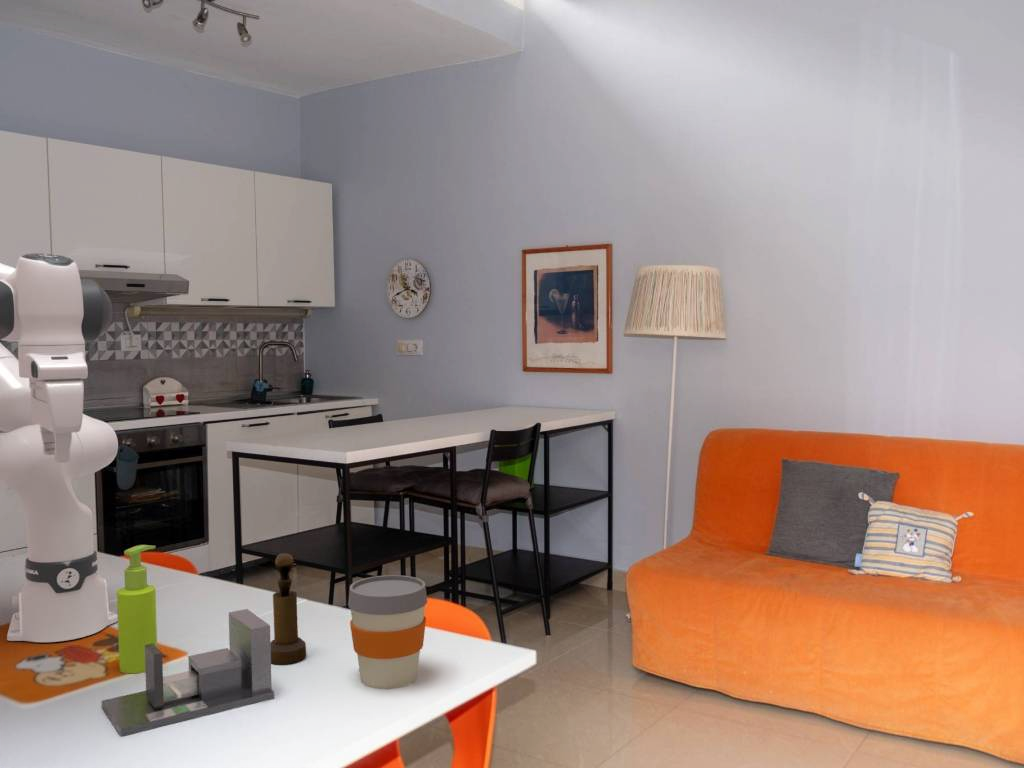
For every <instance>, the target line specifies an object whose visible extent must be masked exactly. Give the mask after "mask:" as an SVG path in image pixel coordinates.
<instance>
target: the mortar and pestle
mask: <svg viewBox="0 0 1024 768" xmlns="http://www.w3.org/2000/svg"><path fill="white" fill-rule="evenodd" d="M274 564H275V567H276V569H277V571H278V572H279V575H280V577H279V578H278V579H277V584H278V585H277V586H278V588H279V591H276V592H274V593H273V594H272V606H273V607H272V608H273V633H274V634H273V635H274V636H273V638H274V639H272V641H271V640H270V642H271V665H280V666H281V665H282V666H283V665H291V664H292V665H293V664H296V663H299V662H301V661H303V660H305V658H306V656H307V645H306V641H305V640H303V639H302V638H301V637H299V629H298V604H297V603H298V600H297V599H298V597H297V594H298V593H297V592H296V591H292V590H291V585H292V578H290V572H291V570H292V568H293V566H294V558H293V555H292V554H290V553H287V552H284V553H283V552H282V553H279V554H278V555H277V556H276V558H275V560H274Z"/></svg>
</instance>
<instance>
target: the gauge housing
mask: <svg viewBox="0 0 1024 768" xmlns="http://www.w3.org/2000/svg"><path fill="white" fill-rule="evenodd" d="M228 634H229V635H228V637H229V638H228V641H229V648H228V647H226V648H225V647H224V648H221V649H217V650H211V651H207V652H206V651H205V652H202V653H197V654H193V655H188V657H187V658H188V661H187V662H188V671H191V670H196V671H197V672H198V673H199V694H198V695H193V696H189V697H185V698H181V699H176V700H172V701H168V702H164V707H161V708H157V709H155V708H154V707H153V705H152V704H151V703H150V702H149V700H148V699H147V698H146V690H142V691H139V692H138V691H137V692H135V693H129V694H126V695H119V696H117V697H111V698H107V699H103V700H101V708H102V710H103V711H104V713H105V714H106V716H107V718H108V719H109V721H110V722H111V724H112V725H113V727H114V729H115V730H116V731H117V733H118V734H119V736H120V737H125V736H128V735H132V734H136V733H140V732H144V731H147V730H153V729H157V728H161V727H164V726H168V725H172V724H177V723H180V722H184V721H188V720H192V719H196V718H200V717H204V716H208V715H213V714H217V713H220V712H224V711H229V710H232V709H236V708H241V707H244V706H247V705H252V704H255V703H261V702H264V701H269V700H273V699H275V691H274V690H273V689H272V687H273V686H272V663H271V625H270V624H269V623H268V622H267V621H264V619H262V618H260V617H259V616H258V615H256V614H255V613H253V612H252V611H251V610H249V608H246V609H239V610H236V611H235V610H234V611H229V612H228Z"/></svg>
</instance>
